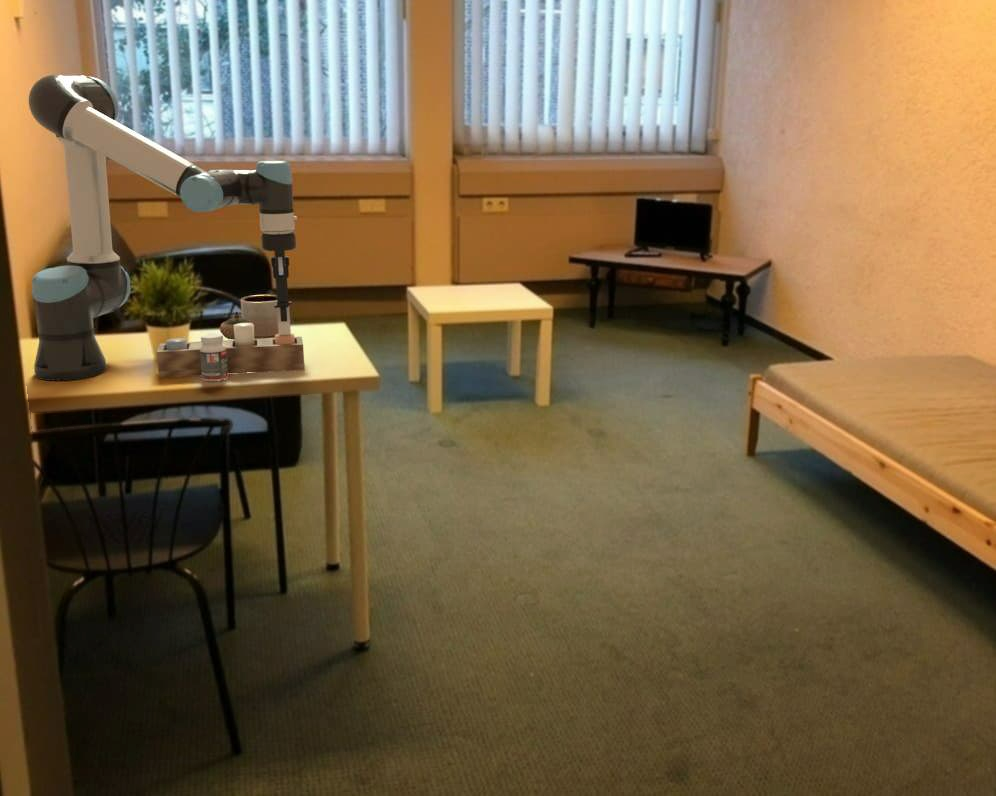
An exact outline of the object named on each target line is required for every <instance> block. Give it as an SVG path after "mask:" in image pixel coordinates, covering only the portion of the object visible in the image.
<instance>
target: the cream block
mask: <svg viewBox="0 0 996 796" xmlns="http://www.w3.org/2000/svg"><path fill="white" fill-rule="evenodd" d="M234 337H235V347H238V346H255V339H256V338H254V325H253V324H252V323H239V324H235V325H234Z"/></svg>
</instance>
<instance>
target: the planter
mask: <svg viewBox="0 0 996 796" xmlns="http://www.w3.org/2000/svg"><path fill="white" fill-rule="evenodd" d="M276 298H277V294H255V295H247V296H243V297H242V298H241V299H240V311H241V318H244V319H246V320H247V321H249V322H251V323H253V324H254V326H255V330H254V339H263V338H275V335H276V334H279V329H278V314H277V308H274V305H277V300H276Z"/></svg>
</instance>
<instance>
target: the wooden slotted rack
mask: <svg viewBox="0 0 996 796" xmlns="http://www.w3.org/2000/svg"><path fill="white" fill-rule="evenodd" d="M254 339H255V346H238V347H235V340H234V339H223V341H222V344H224V345H225V346H226V353H227V366H228V373H238V374H248V373H247V372H256V373H269V372H268V371H274V372H289V371H305V354H304V353H305V352H304V351H305V350H304V343H303V337H302V336H294V340H295V344H277V345H275V337H269V338H254ZM186 342H187V341H186ZM202 345H203V343H202V342H201V341H188V342H187V349H179V350H167V346H166V342H165V343H159V345H158V348H157V349H156V359H157V360H156V361H157V370H158V378H159V377H168V378H181V377H183V376H185V377H198V376H200V377H202V376H201V375H202V373H201V361H200V347H201V346H202ZM183 378H184V377H183Z"/></svg>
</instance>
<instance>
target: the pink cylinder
mask: <svg viewBox="0 0 996 796" xmlns="http://www.w3.org/2000/svg"><path fill="white" fill-rule="evenodd" d="M294 337H295V334H294V333H293V332H291V335H279V334H276V335H275V337H274V338H275V345H277V344H295V340H294Z"/></svg>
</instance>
